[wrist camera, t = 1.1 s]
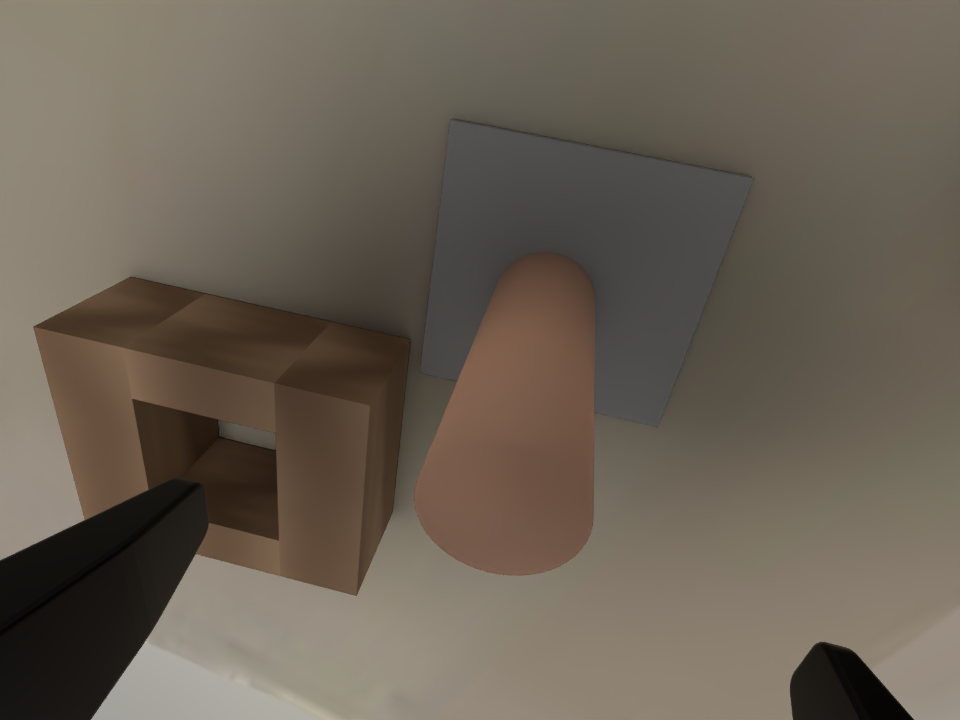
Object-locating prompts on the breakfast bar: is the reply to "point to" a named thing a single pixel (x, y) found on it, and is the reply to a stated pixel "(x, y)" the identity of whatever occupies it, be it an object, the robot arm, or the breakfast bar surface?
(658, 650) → the breakfast bar surface
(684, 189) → the mat
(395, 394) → the hole block
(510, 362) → the peg
